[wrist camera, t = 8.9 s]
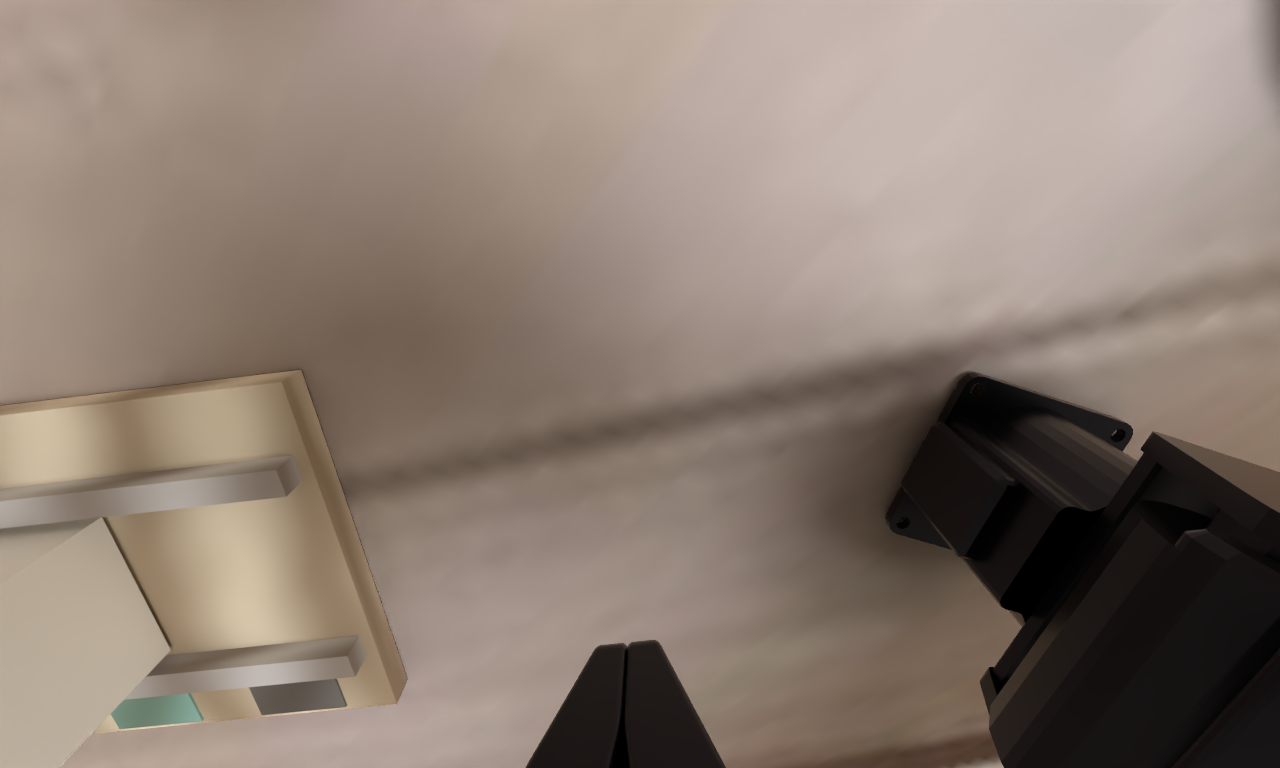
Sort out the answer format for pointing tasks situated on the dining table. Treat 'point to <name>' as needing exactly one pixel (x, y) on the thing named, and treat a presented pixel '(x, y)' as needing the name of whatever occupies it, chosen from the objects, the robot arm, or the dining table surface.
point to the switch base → (215, 542)
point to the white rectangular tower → (67, 638)
